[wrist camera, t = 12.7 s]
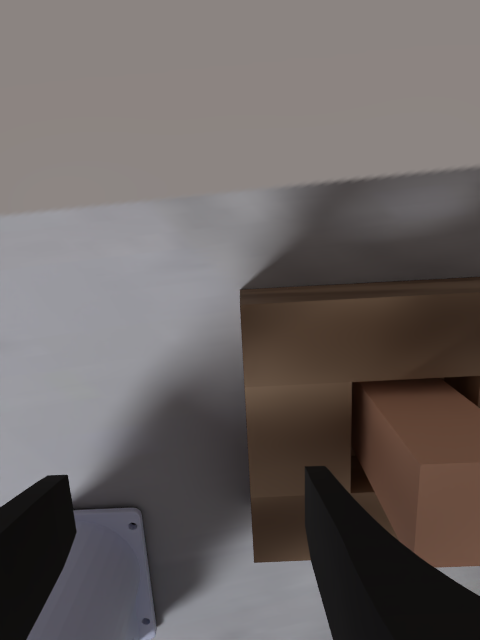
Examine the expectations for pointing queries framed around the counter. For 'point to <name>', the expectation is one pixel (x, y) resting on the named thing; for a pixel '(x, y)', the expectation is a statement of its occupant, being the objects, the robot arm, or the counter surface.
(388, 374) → the socket block
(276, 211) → the counter surface
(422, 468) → the peg
